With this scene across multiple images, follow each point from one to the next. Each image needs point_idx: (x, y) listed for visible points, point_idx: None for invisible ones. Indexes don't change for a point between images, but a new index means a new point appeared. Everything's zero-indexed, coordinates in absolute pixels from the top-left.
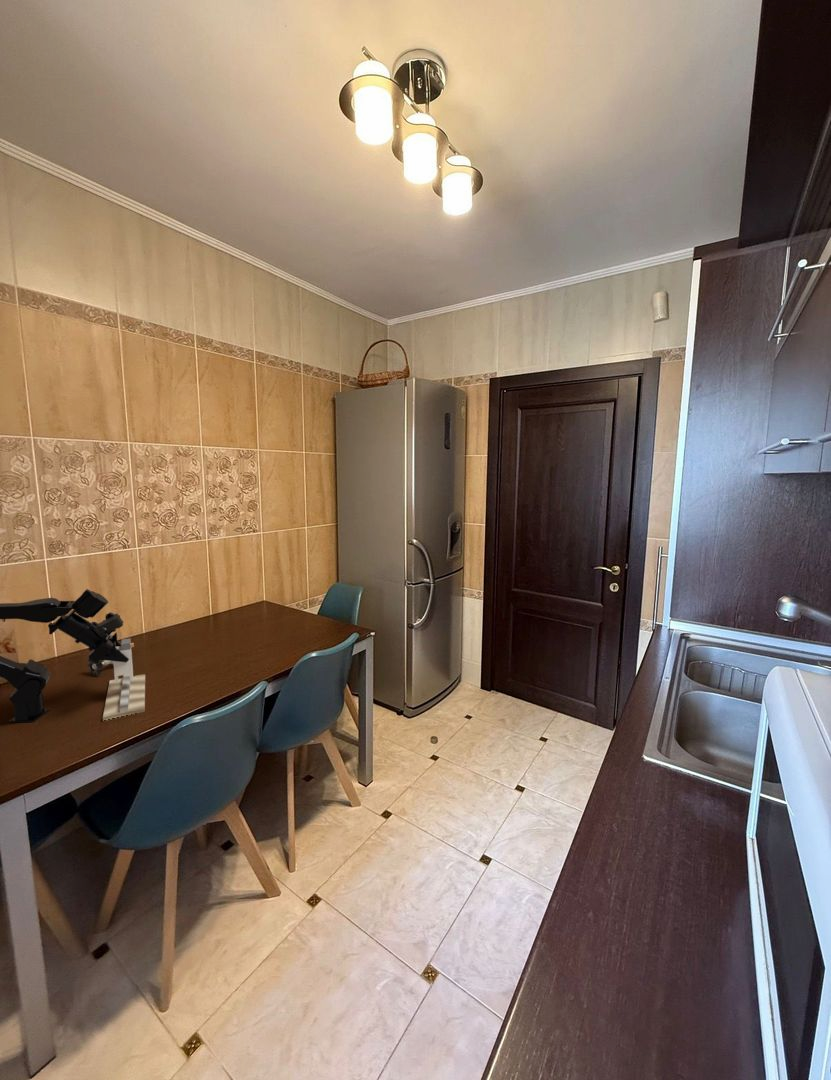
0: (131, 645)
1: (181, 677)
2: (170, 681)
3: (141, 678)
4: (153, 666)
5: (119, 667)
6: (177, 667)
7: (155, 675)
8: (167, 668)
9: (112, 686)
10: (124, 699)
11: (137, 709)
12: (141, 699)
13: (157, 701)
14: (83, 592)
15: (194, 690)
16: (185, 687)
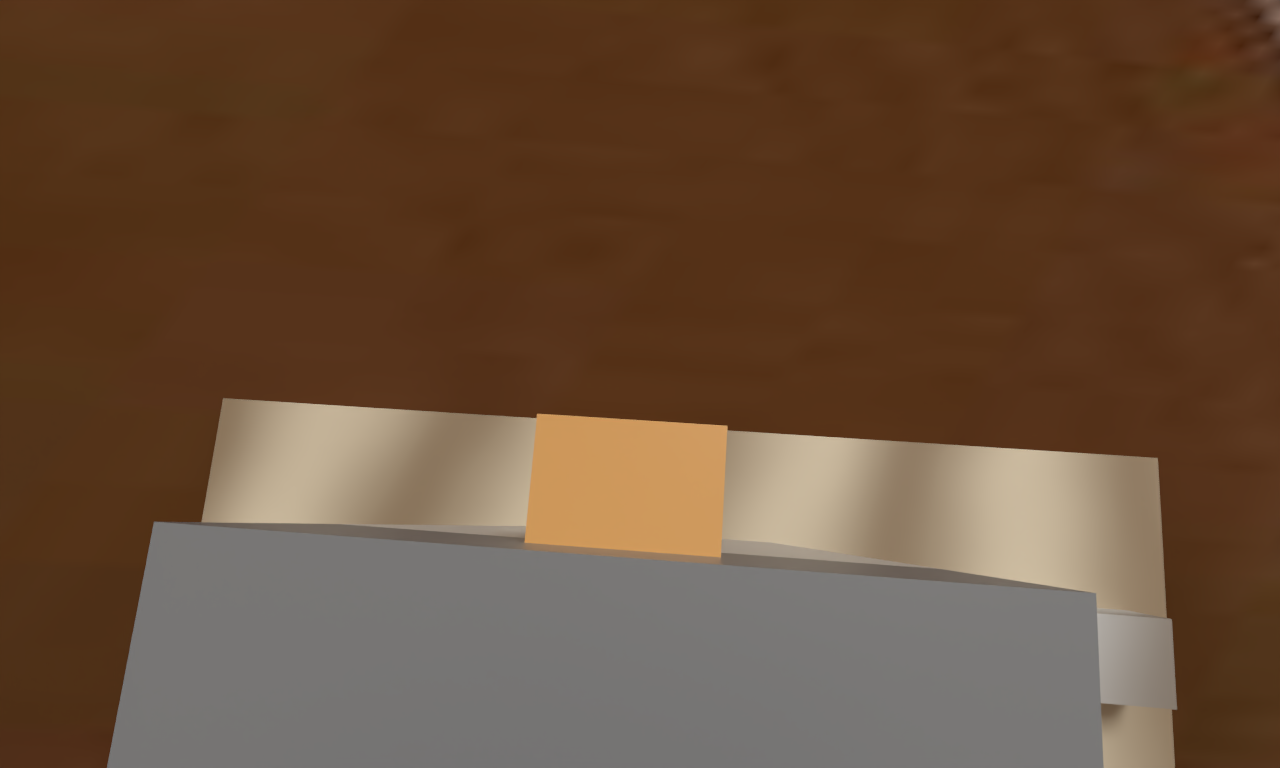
0: (711, 514)
1: (494, 92)
2: (530, 191)
3: (332, 440)
4: (14, 310)
5: None
6: (209, 102)
7: (278, 309)
8: (168, 190)
9: None
10: None
11: (1148, 523)
12: (908, 472)
13: (951, 337)
14: None
15: (880, 20)
16: (763, 82)
